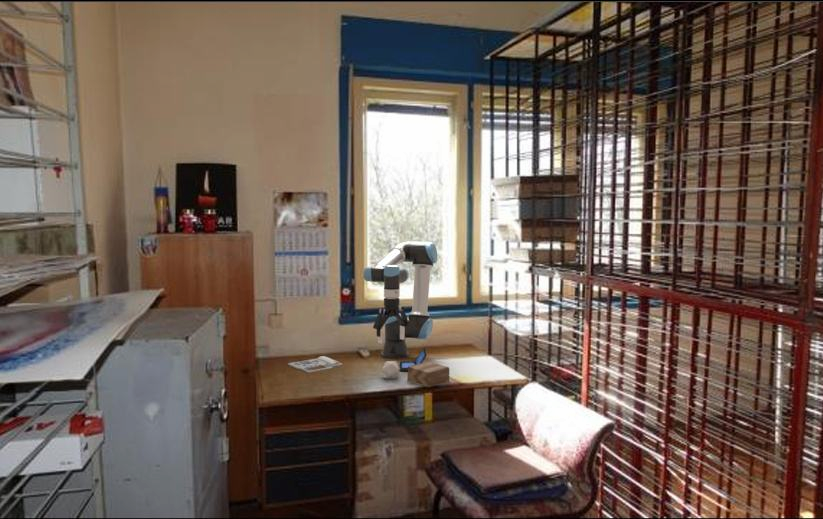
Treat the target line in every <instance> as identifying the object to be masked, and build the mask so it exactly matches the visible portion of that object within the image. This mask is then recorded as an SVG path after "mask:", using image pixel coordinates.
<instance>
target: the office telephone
mask: <svg viewBox="0 0 823 519" xmlns="http://www.w3.org/2000/svg"><path fill="white" fill-rule="evenodd" d="M287 365H288V366H289V367H292V368H294V369H297V370H301V371H303V372H306V373H307V374H310V373H311V374H312V373H317V372H322V371H326V370H330V369H334V367H340V366H343V363H342V362H340V361H337V360H335V359H332V358H330V357H328V356H325V355H322V356H321V355H320V356H319V357H318V358H312V359H306V360H302V361H293V362H288V363H287ZM318 367H323V368H318ZM314 368H318V369H314Z"/></svg>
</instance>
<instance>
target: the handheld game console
mask: <svg viewBox="0 0 823 519" xmlns="http://www.w3.org/2000/svg"><path fill="white" fill-rule="evenodd" d="M426 357H427V352H426V348H425V347H423V348H422V350H421V352H420V353H419V355H418V356H417V357H416V359H415V360H414V361H411V360H410V361H408V360H407V361H403V360H402V361H399V372H401V373H408V366H412V365H416V364H420V363H424V361H425V358H426Z"/></svg>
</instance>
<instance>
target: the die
mask: <svg viewBox="0 0 823 519" xmlns="http://www.w3.org/2000/svg"><path fill="white" fill-rule="evenodd" d="M382 372H383V375H384V377H385V379H387V380H388V379H392V380H394V379H397V378H398V375H399V372H400V366H399V365H398V361H396V360H395V361H394V360H393V361H390V360H389V361H385V362H384V365H383V367H382Z"/></svg>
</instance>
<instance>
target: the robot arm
mask: <svg viewBox="0 0 823 519" xmlns="http://www.w3.org/2000/svg"><path fill="white" fill-rule="evenodd" d="M437 261H438V249H437V247H436V244H435V243H434V242H430V241H404V242H401V243H399V244H396V245H395V246H394V247H392V248H391V249H390V250H389V252H388V254H386V256H384V257H383V258H382V259H381V260H379V261H378V262H377V263H376V264H375V265H374V266H366V267H365V268H364V270H363V279H364V281H366V282H371V283H383V297H384V298H383V306H384V308H378V313H377V315H376V318H375V321H374V324H373V326H372V329H375V330H376V337H377V344H381V345H382V344H383V343H384V344H383V347H382V350H381V356H382V357H384V358H389V359H402V358H407V357H408V356H409V349H408V346H407V342H406V339H412V340H413V339H414V340H415V339H416V340H427V339H429V338H430V336H431V334H432V331H433V326H434V323H433V319H432V318H430V317H431V316H430V315H431V314H429V312H428V307H429V295H430V294H429V292H430V291H429V290H430V281H431V280H430V277H431V269H432V268H434V264H436V263H437ZM402 263H412V266H413V267H414V278H413V291H412V294H413V295H412V308H411V312H409V313H408V316H407V314H406V312H405V306H403V305H402V306H401V305H400V298H399V297H400V286H401V285H400V284H403V283H405V282H406V281H408V280H409V277H410V273H409V271H408V269H407V268H406V267H401V266H399V265H398V264H402ZM383 327H384V342H383V329H382V328H383Z"/></svg>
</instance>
